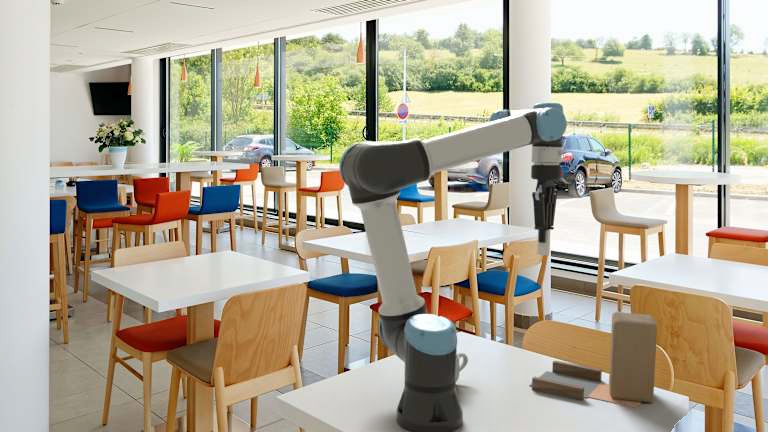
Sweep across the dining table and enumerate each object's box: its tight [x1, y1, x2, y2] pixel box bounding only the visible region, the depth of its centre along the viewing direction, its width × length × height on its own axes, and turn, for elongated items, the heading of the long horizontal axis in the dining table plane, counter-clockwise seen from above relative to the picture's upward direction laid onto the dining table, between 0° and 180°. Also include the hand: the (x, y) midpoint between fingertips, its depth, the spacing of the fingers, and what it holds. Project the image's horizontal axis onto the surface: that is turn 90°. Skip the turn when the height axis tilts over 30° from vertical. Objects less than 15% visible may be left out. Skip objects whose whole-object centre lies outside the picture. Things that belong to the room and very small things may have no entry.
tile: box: [587, 382, 642, 409], centre depth 168 cm, size 11×12×1 cm
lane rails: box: [531, 360, 603, 401], centre depth 175 cm, size 17×13×3 cm
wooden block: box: [608, 311, 658, 403], centre depth 167 cm, size 10×10×20 cm
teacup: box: [456, 352, 469, 383], centre depth 174 cm, size 14×11×8 cm
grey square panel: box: [528, 370, 602, 399], centre depth 175 cm, size 13×15×1 cm
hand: (543, 254), depth 173 cm, fingers closed
